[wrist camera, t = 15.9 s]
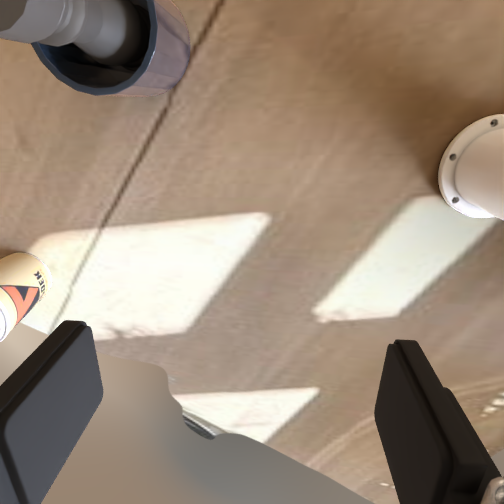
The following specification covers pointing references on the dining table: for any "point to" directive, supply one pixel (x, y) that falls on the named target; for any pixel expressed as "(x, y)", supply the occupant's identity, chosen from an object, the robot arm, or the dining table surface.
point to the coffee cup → (20, 288)
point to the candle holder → (81, 27)
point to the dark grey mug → (116, 77)
